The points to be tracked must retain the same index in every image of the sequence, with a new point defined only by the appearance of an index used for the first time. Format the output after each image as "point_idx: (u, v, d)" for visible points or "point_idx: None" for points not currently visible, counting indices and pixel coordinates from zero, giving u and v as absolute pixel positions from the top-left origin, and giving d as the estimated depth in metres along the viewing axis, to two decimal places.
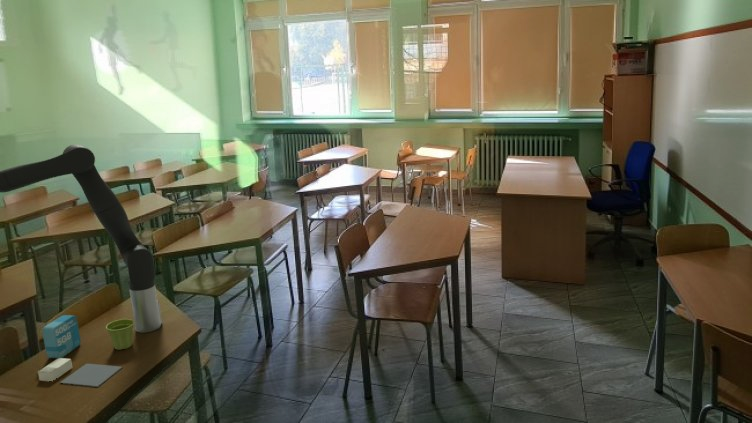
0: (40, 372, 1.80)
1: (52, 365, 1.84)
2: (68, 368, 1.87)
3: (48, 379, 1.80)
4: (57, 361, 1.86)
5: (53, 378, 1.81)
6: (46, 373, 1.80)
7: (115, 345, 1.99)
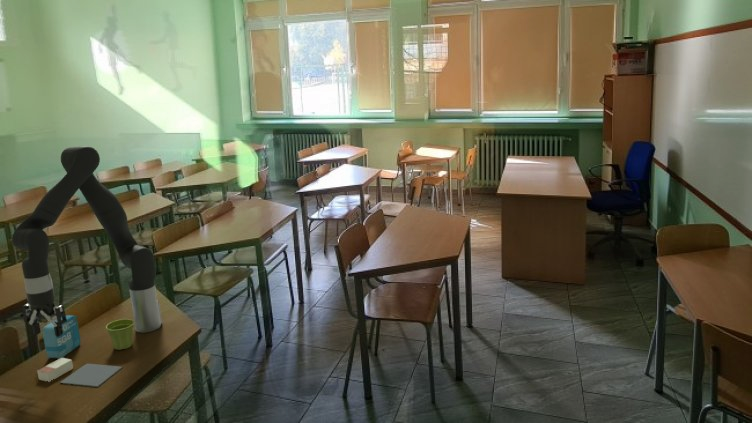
0: (39, 371, 1.81)
1: (52, 365, 1.84)
2: (68, 369, 1.86)
3: (46, 379, 1.80)
4: (58, 361, 1.87)
5: (50, 378, 1.81)
6: (44, 373, 1.80)
7: (115, 345, 1.99)
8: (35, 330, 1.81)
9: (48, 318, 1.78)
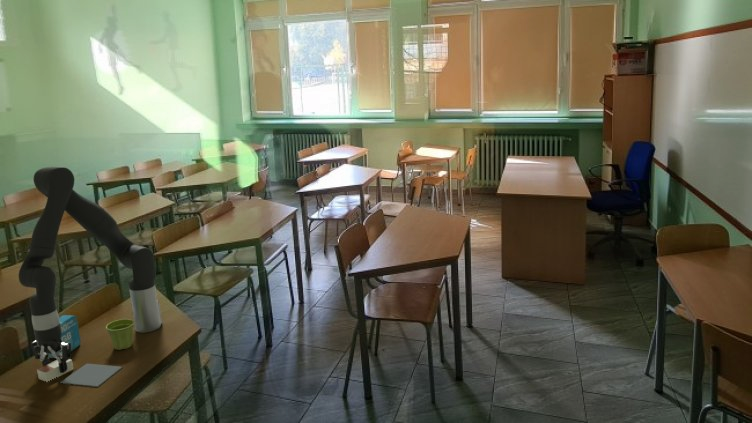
0: (38, 370, 1.81)
1: (53, 364, 1.84)
2: (68, 369, 1.86)
3: (44, 378, 1.80)
4: None
5: (49, 378, 1.80)
6: (42, 372, 1.80)
7: (115, 345, 1.99)
8: None
9: (54, 354, 1.81)
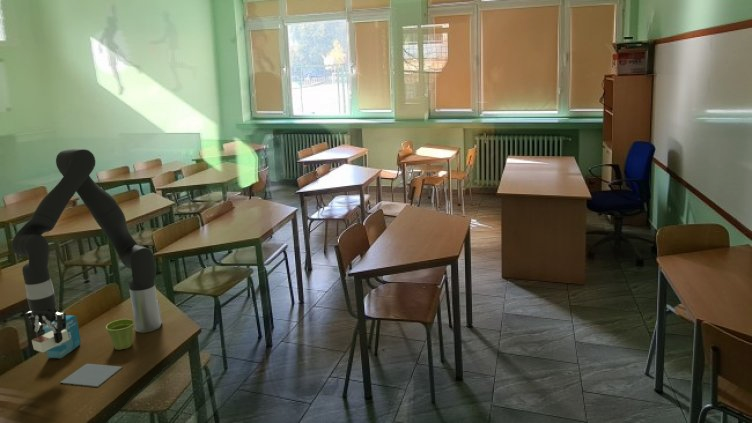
0: (33, 341, 1.79)
1: (47, 335, 1.81)
2: (63, 339, 1.83)
3: (39, 348, 1.78)
4: None
5: (44, 348, 1.78)
6: (37, 343, 1.77)
7: (115, 345, 1.99)
8: None
9: (49, 324, 1.78)
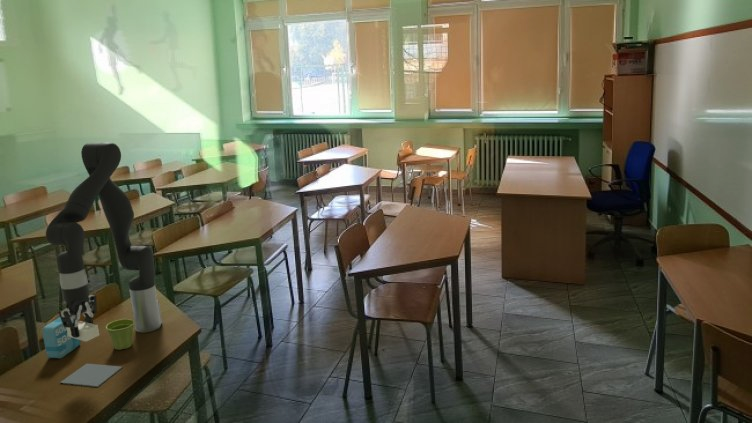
0: None
1: (82, 325, 1.79)
2: (81, 338, 1.76)
3: None
4: (89, 325, 1.78)
5: (69, 333, 1.79)
6: None
7: (115, 345, 1.99)
8: None
9: None
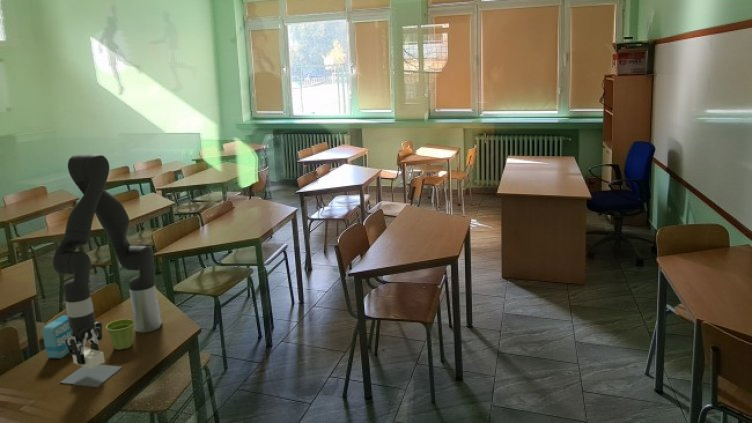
0: None
1: (88, 351, 1.81)
2: (87, 365, 1.78)
3: None
4: (94, 352, 1.81)
5: (74, 360, 1.81)
6: None
7: (115, 345, 1.99)
8: None
9: None
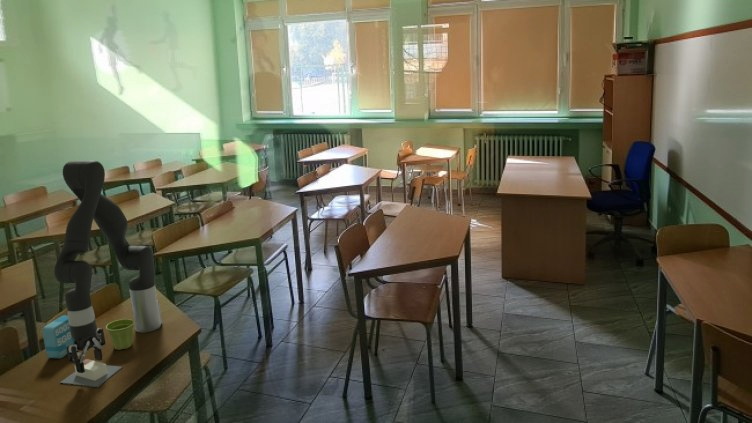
0: None
1: (90, 364, 1.82)
2: (90, 377, 1.79)
3: None
4: (97, 364, 1.82)
5: (77, 373, 1.82)
6: None
7: (115, 345, 1.99)
8: (95, 355, 1.85)
9: None
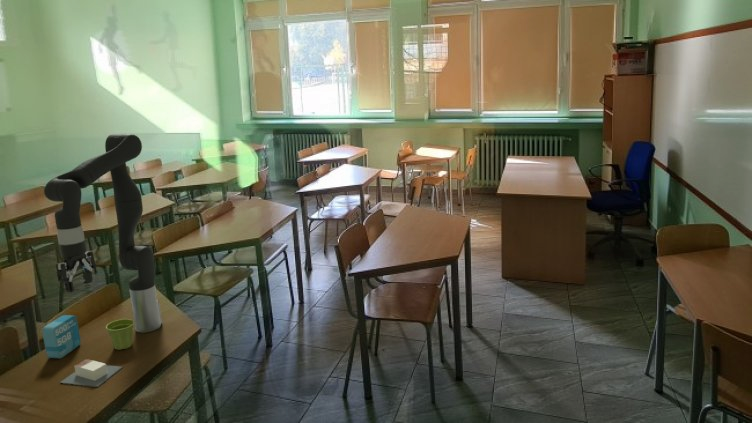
0: None
1: (90, 364, 1.82)
2: (90, 377, 1.79)
3: None
4: (97, 364, 1.82)
5: (77, 373, 1.82)
6: None
7: (115, 345, 1.99)
8: (85, 278, 1.87)
9: None
